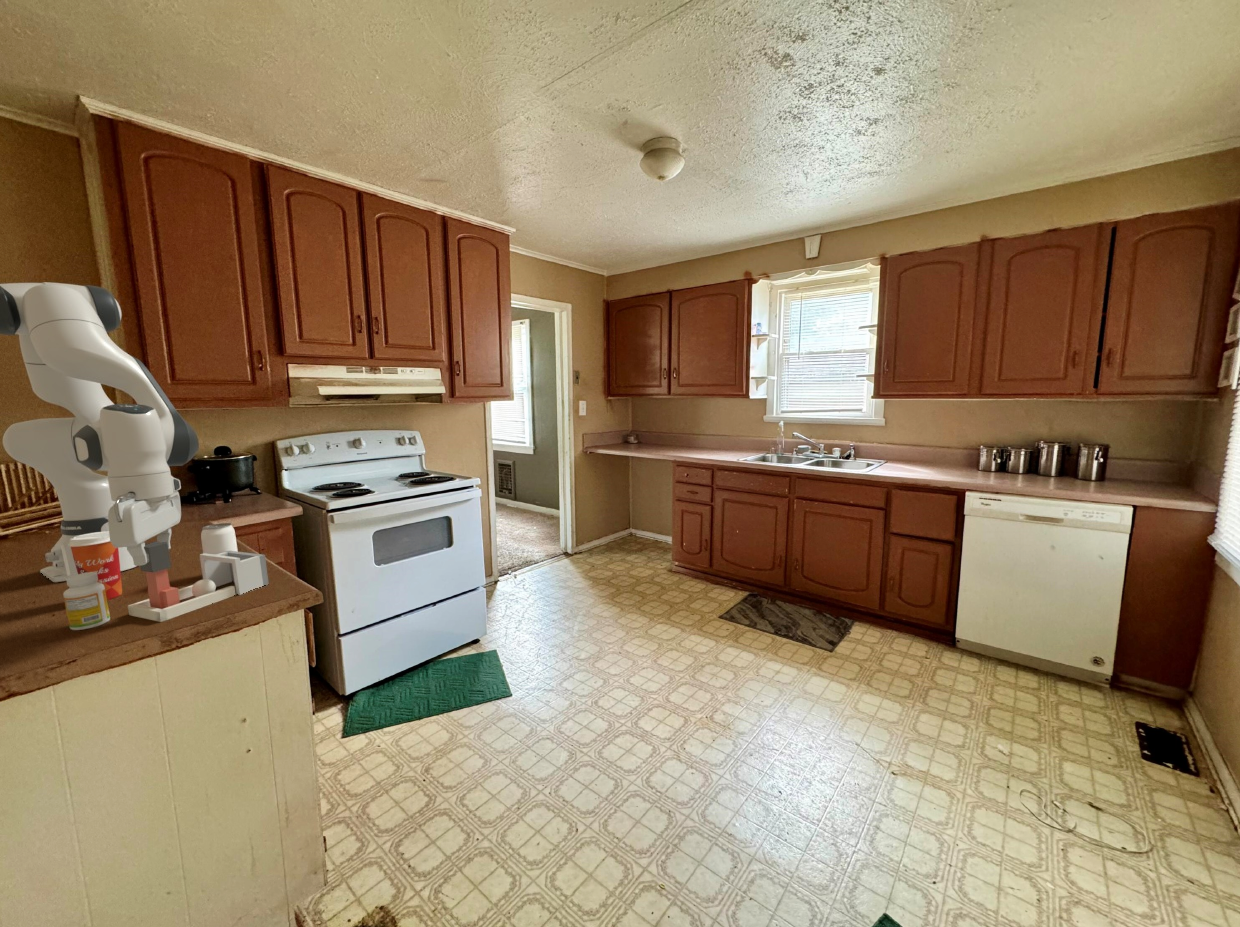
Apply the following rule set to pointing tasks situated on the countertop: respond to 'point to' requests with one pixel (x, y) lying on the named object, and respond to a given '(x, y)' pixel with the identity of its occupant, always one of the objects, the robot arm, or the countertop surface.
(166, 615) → the white flat open frame
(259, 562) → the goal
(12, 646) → the countertop surface
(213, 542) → the can
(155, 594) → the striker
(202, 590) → the ball
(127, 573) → the countertop surface
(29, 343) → the robot arm
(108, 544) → the paper cup
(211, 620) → the countertop surface
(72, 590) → the supplement bottle
